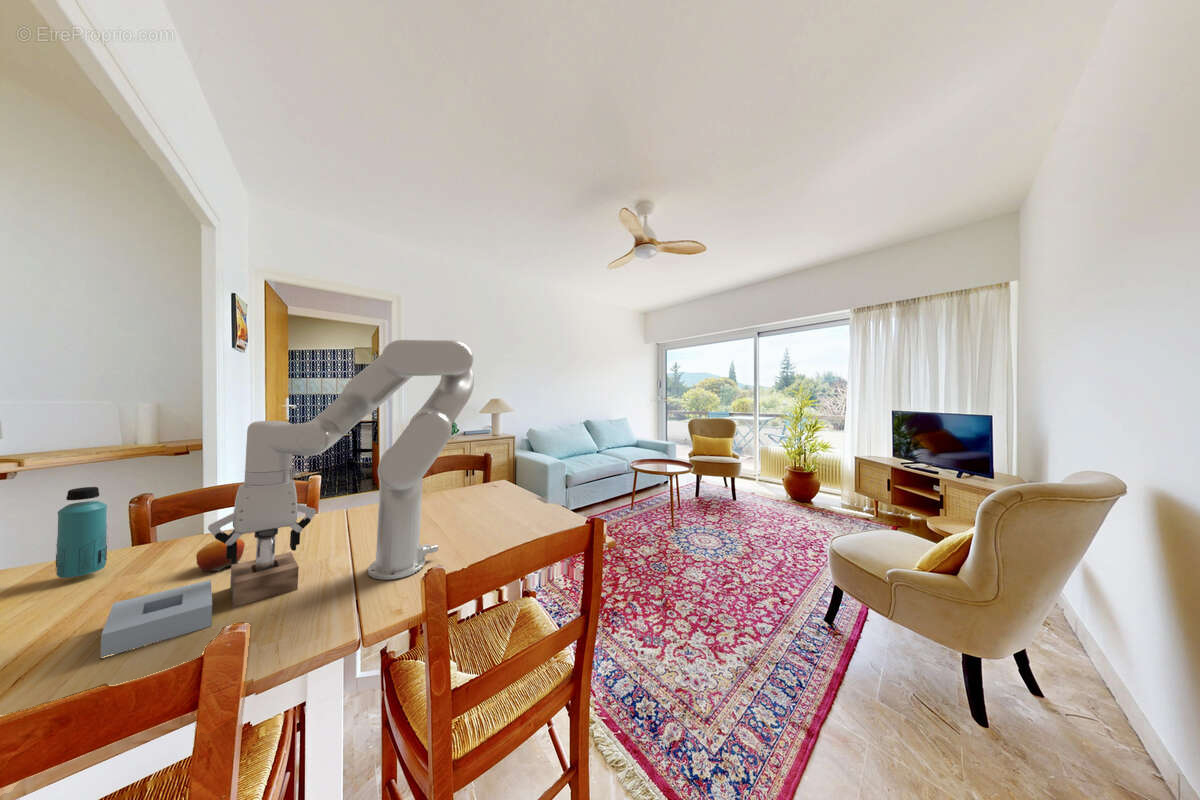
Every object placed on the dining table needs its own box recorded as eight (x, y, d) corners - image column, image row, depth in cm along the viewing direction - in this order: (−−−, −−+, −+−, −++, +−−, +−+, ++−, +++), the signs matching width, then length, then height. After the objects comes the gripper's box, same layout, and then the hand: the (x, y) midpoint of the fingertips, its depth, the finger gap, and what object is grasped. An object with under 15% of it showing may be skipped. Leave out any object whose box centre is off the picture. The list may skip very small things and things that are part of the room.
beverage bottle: (103, 578, 79) (106, 488, 79) (49, 589, 74) (52, 493, 74) (109, 567, 84) (112, 482, 83) (58, 577, 79) (61, 487, 78)
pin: (274, 582, 81) (277, 523, 81) (276, 588, 79) (279, 528, 79) (251, 588, 78) (253, 527, 78) (253, 595, 76) (255, 532, 76)
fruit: (219, 572, 82) (206, 540, 82) (196, 585, 83) (184, 553, 84) (259, 557, 89) (247, 527, 90) (237, 569, 91) (226, 540, 92)
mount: (290, 572, 86) (291, 551, 86) (297, 589, 79) (298, 566, 79) (230, 587, 78) (231, 565, 78) (232, 607, 71) (234, 582, 71)
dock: (210, 598, 74) (211, 579, 74) (211, 626, 66) (212, 604, 66) (112, 624, 65) (113, 602, 65) (100, 659, 57) (101, 634, 57)
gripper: (314, 469, 87) (310, 539, 87) (210, 479, 74) (205, 560, 74) (321, 475, 82) (317, 549, 82) (210, 486, 69) (206, 574, 69)
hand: (264, 554), depth 78 cm, fingers open, 9 cm apart
